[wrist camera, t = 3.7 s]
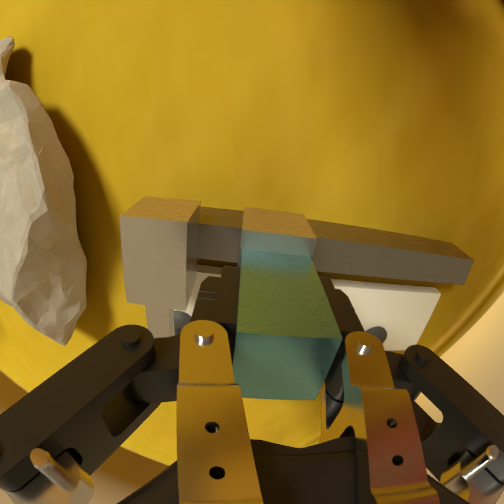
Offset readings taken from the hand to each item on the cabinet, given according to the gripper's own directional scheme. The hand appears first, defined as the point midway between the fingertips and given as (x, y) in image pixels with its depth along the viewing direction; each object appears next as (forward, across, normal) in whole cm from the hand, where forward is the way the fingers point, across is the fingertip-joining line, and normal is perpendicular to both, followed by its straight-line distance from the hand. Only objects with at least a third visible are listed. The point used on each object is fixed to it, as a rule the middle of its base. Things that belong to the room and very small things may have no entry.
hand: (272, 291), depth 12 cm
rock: (+8, +21, -1) cm, 23 cm away
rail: (+7, -4, +3) cm, 9 cm away
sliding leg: (+5, 0, +3) cm, 6 cm away
